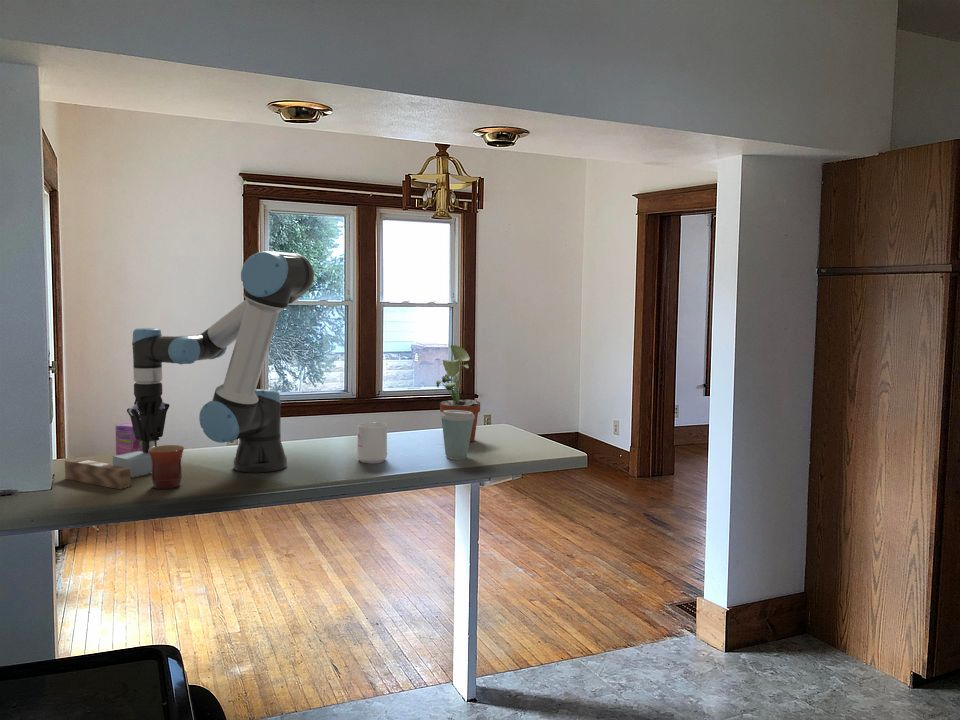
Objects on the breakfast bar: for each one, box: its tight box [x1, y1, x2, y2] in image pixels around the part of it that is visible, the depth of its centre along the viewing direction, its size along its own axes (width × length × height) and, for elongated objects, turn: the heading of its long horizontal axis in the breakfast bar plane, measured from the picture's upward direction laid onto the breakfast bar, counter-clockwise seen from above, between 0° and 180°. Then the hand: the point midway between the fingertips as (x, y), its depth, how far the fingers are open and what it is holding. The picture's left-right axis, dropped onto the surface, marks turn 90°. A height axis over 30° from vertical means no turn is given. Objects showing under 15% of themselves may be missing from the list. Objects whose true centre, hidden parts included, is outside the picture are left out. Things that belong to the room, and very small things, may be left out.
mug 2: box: [357, 421, 388, 464], centre depth 239 cm, size 12×9×11 cm
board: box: [64, 458, 131, 490], centre depth 208 cm, size 22×3×5 cm, turn 63°
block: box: [112, 451, 152, 478], centre depth 220 cm, size 9×8×5 cm
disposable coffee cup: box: [440, 410, 475, 461], centre depth 243 cm, size 11×11×15 cm
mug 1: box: [148, 444, 185, 490], centre depth 207 cm, size 12×9×10 cm
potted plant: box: [435, 344, 481, 443], centre depth 268 cm, size 16×15×35 cm
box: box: [115, 419, 143, 455], centre depth 233 cm, size 10×6×12 cm, turn 168°
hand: (149, 462), depth 225 cm, fingers closed
